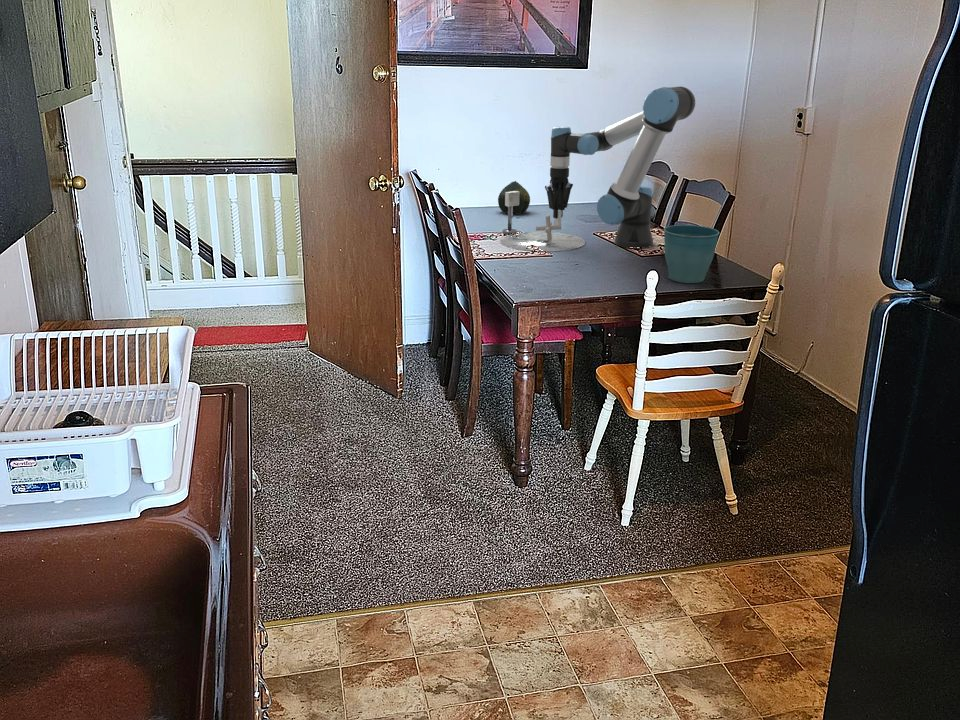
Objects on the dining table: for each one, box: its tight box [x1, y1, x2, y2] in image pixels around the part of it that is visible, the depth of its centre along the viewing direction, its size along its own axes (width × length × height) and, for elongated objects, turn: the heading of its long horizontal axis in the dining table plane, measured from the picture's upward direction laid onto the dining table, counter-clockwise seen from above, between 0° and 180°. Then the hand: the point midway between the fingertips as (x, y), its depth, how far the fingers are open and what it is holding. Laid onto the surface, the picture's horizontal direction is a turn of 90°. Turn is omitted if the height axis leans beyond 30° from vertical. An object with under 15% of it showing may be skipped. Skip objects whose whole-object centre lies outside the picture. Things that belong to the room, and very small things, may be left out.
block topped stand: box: [501, 191, 520, 235], centre depth 357 cm, size 6×6×17 cm
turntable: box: [500, 231, 586, 253], centre depth 345 cm, size 34×34×1 cm
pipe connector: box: [535, 214, 562, 240], centre depth 344 cm, size 10×10×10 cm
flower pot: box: [663, 224, 720, 284], centre depth 290 cm, size 18×18×17 cm
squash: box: [497, 180, 531, 215], centre depth 400 cm, size 14×15×15 cm
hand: (557, 225), depth 347 cm, fingers closed
